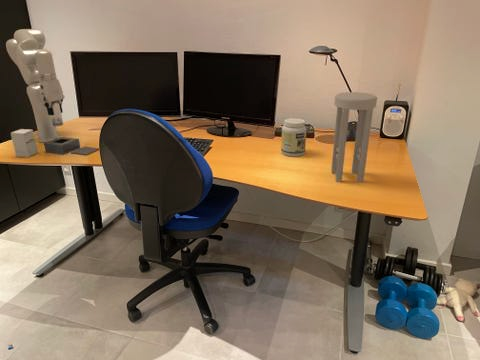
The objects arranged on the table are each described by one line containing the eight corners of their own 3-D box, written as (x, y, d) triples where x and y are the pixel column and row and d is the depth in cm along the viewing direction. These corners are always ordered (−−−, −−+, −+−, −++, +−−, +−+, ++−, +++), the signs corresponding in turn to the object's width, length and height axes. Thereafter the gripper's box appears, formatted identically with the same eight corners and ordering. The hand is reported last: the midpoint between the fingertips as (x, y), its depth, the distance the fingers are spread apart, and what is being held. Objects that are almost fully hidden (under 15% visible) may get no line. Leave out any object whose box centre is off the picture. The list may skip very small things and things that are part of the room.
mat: (71, 153, 194) (70, 152, 193) (84, 147, 202) (84, 146, 202) (86, 155, 190) (86, 154, 190) (99, 149, 199) (99, 148, 199)
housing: (45, 152, 196) (43, 143, 194) (63, 145, 206) (61, 136, 204) (63, 154, 192) (61, 145, 190) (80, 147, 202) (78, 138, 200)
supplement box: (28, 157, 188) (22, 133, 183) (16, 156, 190) (9, 132, 185) (38, 152, 195) (33, 129, 190) (26, 152, 196) (20, 128, 191)
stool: (360, 170, 169) (370, 91, 155) (369, 184, 155) (381, 99, 141) (325, 169, 170) (332, 91, 155) (332, 183, 155) (340, 99, 141)
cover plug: (50, 125, 192) (45, 102, 187) (57, 123, 196) (53, 100, 192) (57, 126, 190) (53, 103, 185) (65, 124, 195) (61, 101, 190)
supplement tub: (297, 159, 183) (299, 125, 176) (276, 154, 189) (277, 121, 183) (309, 152, 192) (311, 119, 185) (288, 147, 198) (290, 116, 192)
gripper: (39, 80, 175) (48, 118, 183) (67, 75, 190) (73, 110, 197) (27, 79, 178) (36, 117, 185) (55, 74, 192) (62, 109, 200)
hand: (55, 113), depth 191 cm, fingers closed on cover plug, 5 cm apart
